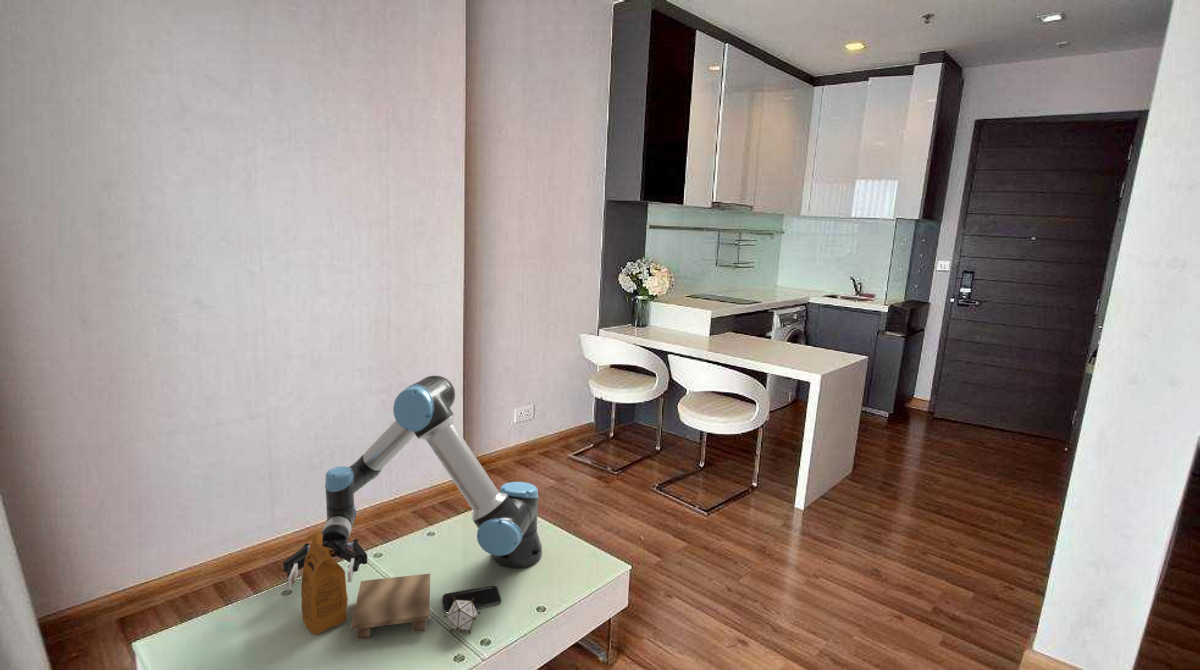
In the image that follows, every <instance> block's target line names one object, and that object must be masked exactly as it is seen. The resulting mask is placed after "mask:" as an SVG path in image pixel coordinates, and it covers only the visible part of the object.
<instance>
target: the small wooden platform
mask: <svg viewBox="0 0 1200 670" xmlns="http://www.w3.org/2000/svg"><path fill="white" fill-rule="evenodd" d="M430 596H431V573H423V574H422V573H421V574H415V575H414V574H413V575H403V576H394V577H385V578H375V579H366V580H361V581H360V584H359V588H358V593H357V597H356V601H355V606H354V611H353V616H352V620H351V625H350V626H351V629H350V630H356V640H357V639H358V640H357V641H359V640H360V639H361V640H367V639H371V636H372V635H371V634H372V629H373V628H375V627H382V626H390V625H399V624H405V623H406V624H407V623H412V633H413V632H414V633H420V632H425V631H426V621H429V620H430V602H431V601H430V600H431V599H430V598H431V597H430Z"/></svg>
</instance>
